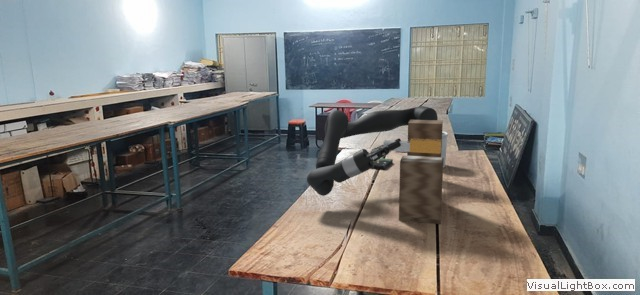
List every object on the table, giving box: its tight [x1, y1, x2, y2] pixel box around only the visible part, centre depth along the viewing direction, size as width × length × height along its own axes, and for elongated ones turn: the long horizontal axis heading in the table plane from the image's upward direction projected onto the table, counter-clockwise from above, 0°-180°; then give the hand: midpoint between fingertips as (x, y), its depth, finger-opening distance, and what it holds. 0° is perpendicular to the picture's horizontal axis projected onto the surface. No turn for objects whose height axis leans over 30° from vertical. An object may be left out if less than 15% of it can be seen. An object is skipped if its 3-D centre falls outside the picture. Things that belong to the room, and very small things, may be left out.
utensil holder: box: [441, 130, 449, 169], centre depth 214 cm, size 15×15×18 cm
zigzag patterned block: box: [398, 119, 444, 225], centre depth 151 cm, size 14×23×32 cm, turn 163°
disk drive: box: [370, 158, 393, 171], centre depth 218 cm, size 10×3×15 cm
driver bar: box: [382, 138, 441, 154], centre depth 143 cm, size 19×4×4 cm, turn 73°
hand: (400, 141), depth 144 cm, fingers closed on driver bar, 3 cm apart
